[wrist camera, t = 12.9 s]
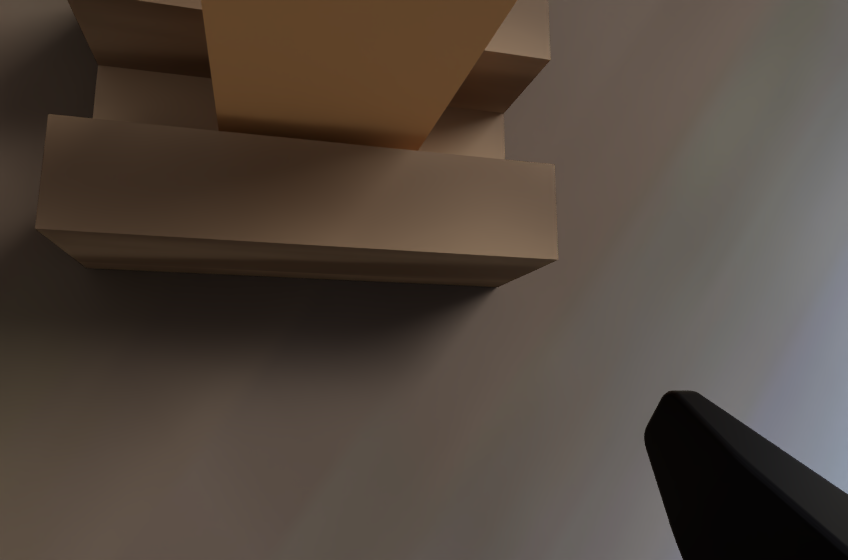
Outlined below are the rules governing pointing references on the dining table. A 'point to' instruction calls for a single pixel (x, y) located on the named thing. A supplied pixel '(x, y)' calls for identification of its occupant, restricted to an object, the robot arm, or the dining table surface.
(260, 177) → the rack
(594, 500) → the dining table surface
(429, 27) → the rectangular block
